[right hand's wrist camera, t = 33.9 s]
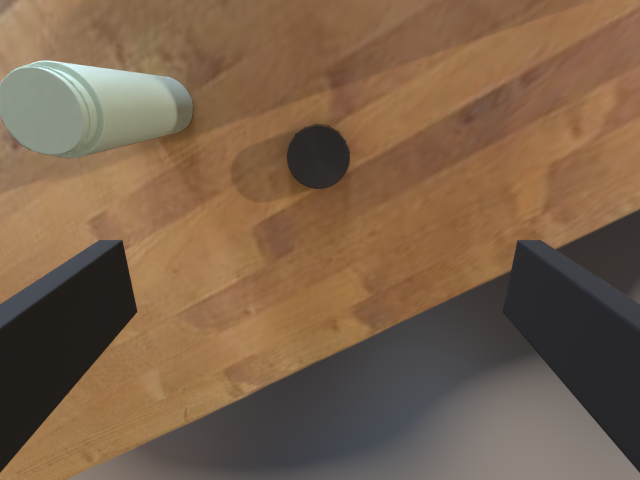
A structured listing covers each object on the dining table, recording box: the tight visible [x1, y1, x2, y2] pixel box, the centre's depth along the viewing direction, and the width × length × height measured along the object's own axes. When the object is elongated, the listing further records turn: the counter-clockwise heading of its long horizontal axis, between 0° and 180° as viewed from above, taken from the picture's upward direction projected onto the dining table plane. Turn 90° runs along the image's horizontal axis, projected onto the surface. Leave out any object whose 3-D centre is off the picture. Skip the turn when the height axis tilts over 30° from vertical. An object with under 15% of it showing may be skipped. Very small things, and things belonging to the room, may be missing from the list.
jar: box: [0, 61, 193, 158], centre depth 29 cm, size 6×6×18 cm
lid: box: [287, 124, 350, 189], centre depth 39 cm, size 7×7×2 cm
